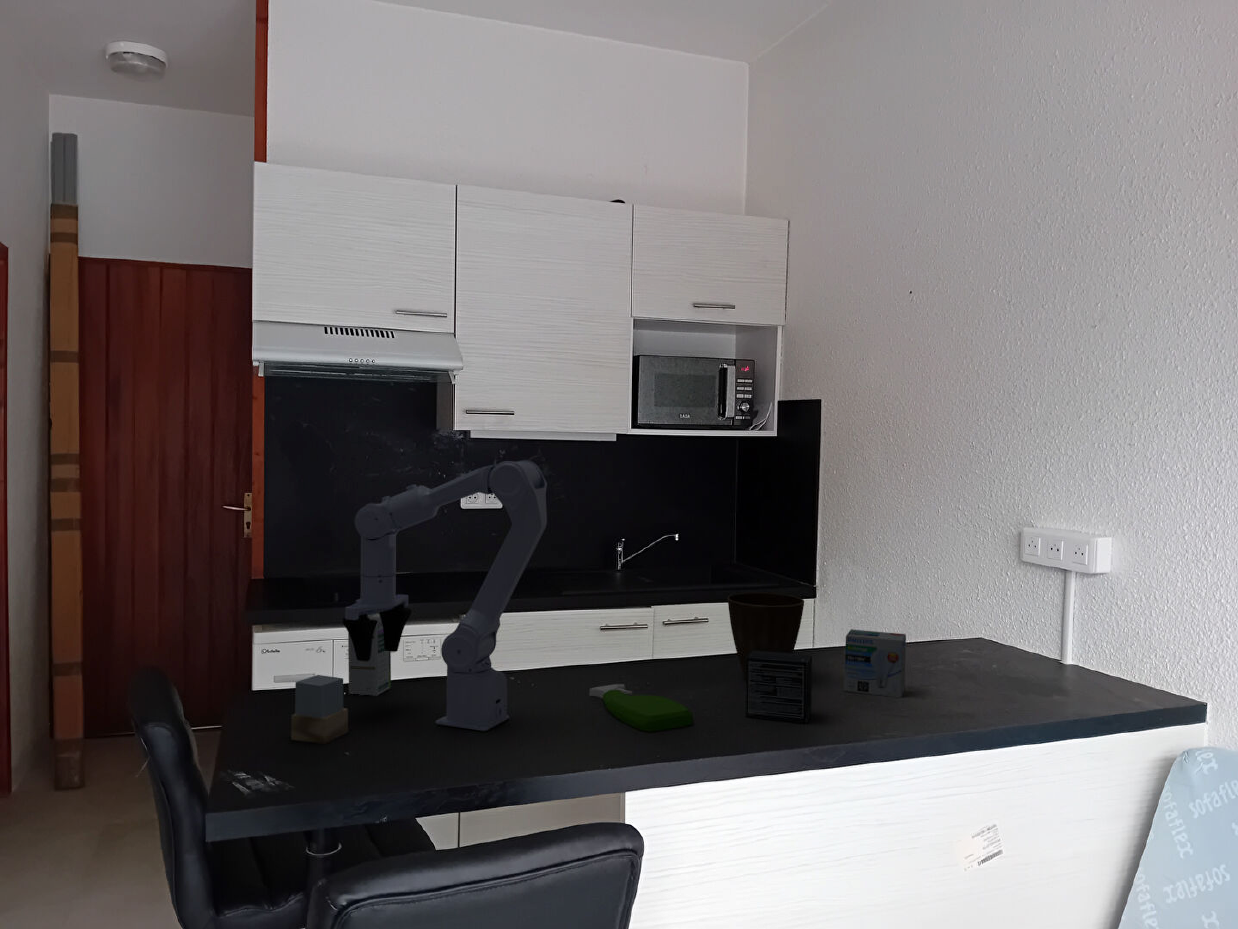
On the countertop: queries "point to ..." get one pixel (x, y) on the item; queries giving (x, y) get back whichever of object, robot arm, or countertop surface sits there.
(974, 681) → the countertop surface
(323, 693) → the blue-grey cube
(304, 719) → the oak block
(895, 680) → the light bulb box
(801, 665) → the small box
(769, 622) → the plant pot
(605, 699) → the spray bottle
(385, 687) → the syrup box
